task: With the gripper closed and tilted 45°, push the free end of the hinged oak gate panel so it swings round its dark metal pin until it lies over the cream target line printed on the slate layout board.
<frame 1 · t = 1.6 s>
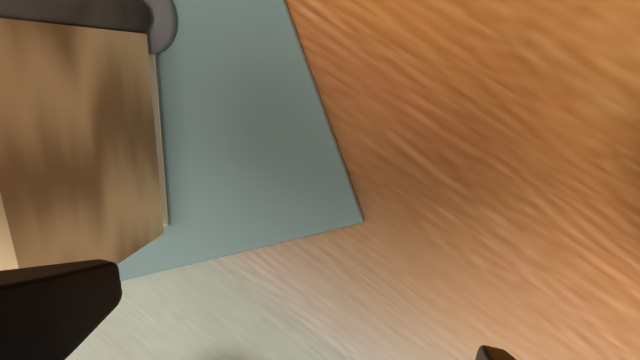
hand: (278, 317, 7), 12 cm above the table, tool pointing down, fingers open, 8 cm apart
layout board: (141, 127, 21), on the table
gate: (82, 140, 16), point 5 cm above the table, hinge at 0.0°
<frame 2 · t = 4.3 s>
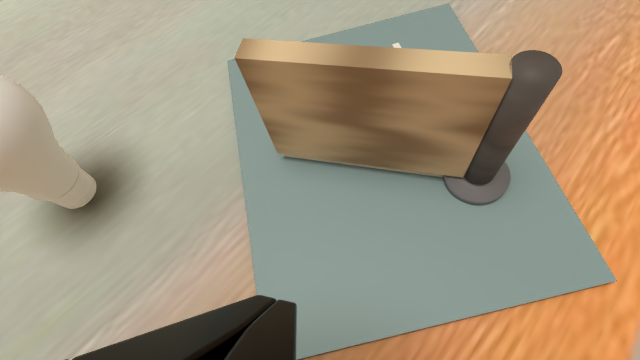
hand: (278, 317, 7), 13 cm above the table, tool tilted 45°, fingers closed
layout board: (377, 148, 23), on the table
gate: (382, 117, 18), point 5 cm above the table, hinge at 0.0°
lightbulb: (89, 197, 25), on the table
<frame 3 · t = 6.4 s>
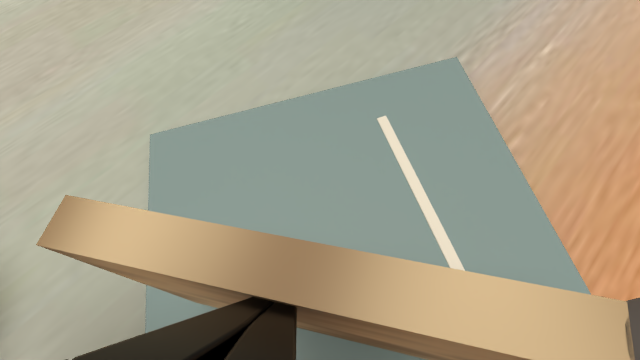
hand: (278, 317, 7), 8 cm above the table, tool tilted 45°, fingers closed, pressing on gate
layout board: (351, 291, 15), on the table
gate: (346, 309, 10), point 5 cm above the table, hinge at 0.3°, touching gripper
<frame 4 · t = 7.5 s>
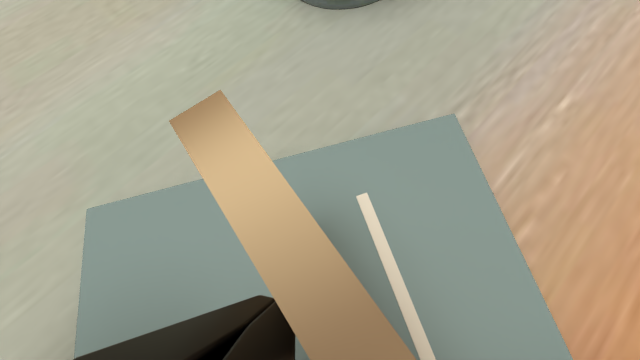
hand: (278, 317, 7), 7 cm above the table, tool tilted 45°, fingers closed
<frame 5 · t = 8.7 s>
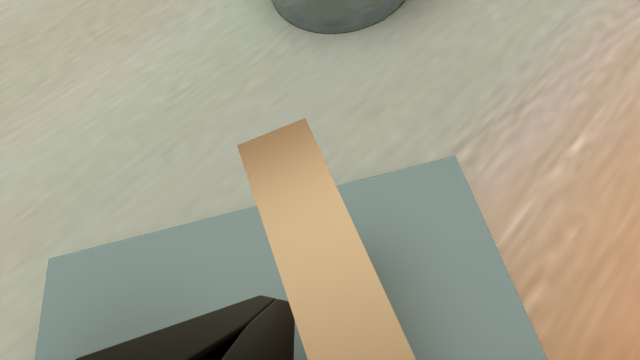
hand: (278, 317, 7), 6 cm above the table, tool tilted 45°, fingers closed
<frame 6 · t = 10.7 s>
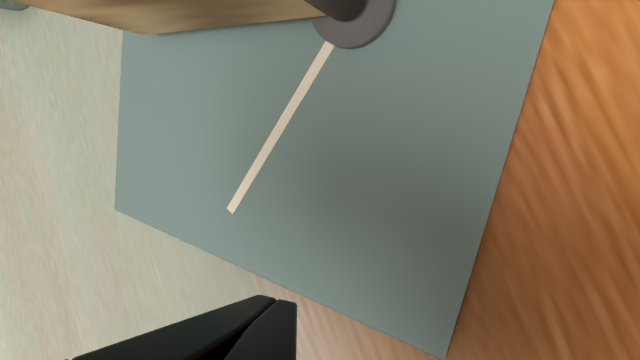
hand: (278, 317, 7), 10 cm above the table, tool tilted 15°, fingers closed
layout board: (269, 104, 18), on the table
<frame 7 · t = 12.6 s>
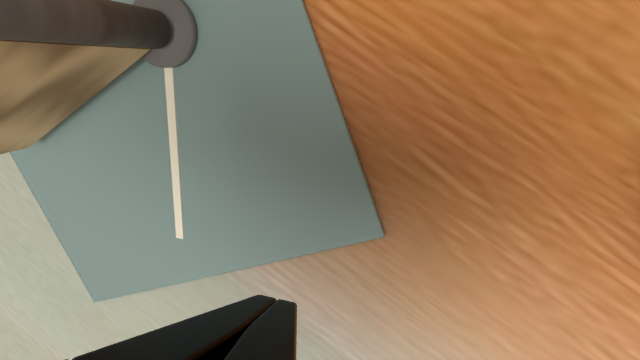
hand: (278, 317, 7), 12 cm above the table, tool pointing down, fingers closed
layout board: (157, 139, 21), on the table
gate: (9, 91, 16), point 5 cm above the table, hinge at 56.0°
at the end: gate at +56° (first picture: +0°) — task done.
